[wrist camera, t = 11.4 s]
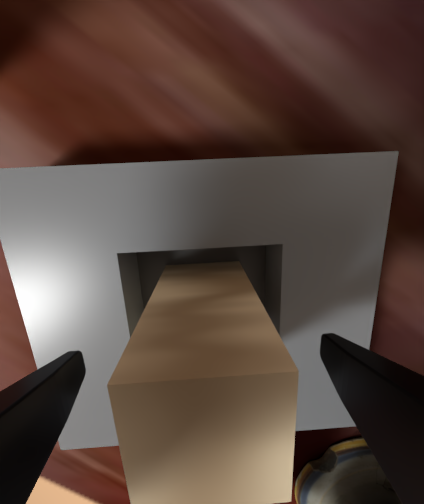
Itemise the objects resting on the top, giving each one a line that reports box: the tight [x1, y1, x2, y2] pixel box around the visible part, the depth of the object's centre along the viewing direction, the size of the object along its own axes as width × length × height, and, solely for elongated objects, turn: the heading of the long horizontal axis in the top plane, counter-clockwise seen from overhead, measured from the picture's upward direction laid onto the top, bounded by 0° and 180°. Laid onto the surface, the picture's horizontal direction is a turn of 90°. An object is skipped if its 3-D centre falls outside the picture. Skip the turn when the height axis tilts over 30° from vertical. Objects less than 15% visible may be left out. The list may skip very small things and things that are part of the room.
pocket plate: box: [0, 151, 399, 450], centre depth 12 cm, size 16×14×3 cm
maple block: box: [107, 261, 299, 504], centre depth 9 cm, size 4×4×8 cm
